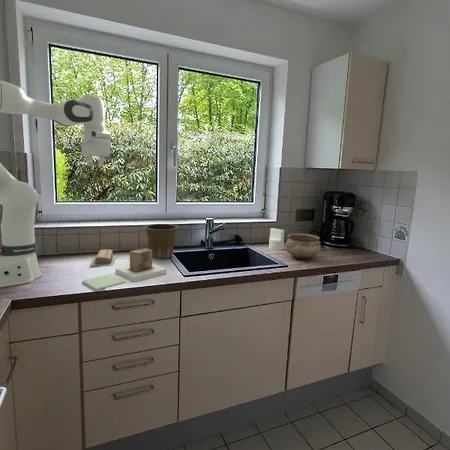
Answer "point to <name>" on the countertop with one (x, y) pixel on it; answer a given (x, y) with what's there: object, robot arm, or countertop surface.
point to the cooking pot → (302, 245)
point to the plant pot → (161, 240)
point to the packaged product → (103, 258)
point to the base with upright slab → (276, 239)
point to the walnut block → (140, 260)
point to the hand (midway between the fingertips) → (95, 166)
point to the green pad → (103, 282)
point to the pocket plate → (140, 275)
